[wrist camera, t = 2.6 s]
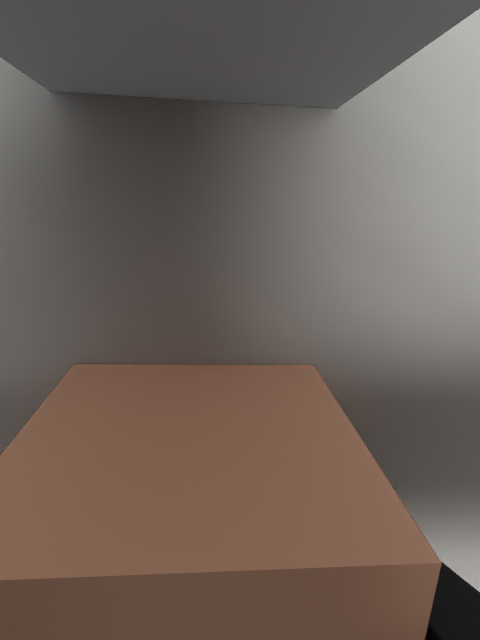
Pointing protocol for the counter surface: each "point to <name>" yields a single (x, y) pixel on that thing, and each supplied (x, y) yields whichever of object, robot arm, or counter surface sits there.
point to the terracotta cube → (204, 513)
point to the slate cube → (221, 46)
